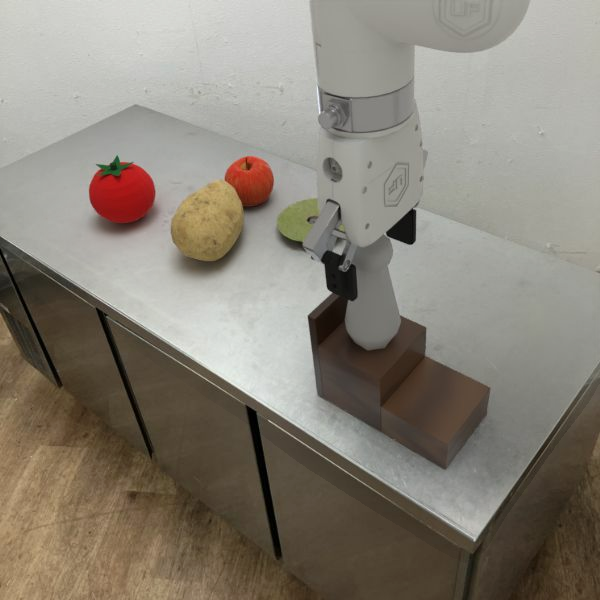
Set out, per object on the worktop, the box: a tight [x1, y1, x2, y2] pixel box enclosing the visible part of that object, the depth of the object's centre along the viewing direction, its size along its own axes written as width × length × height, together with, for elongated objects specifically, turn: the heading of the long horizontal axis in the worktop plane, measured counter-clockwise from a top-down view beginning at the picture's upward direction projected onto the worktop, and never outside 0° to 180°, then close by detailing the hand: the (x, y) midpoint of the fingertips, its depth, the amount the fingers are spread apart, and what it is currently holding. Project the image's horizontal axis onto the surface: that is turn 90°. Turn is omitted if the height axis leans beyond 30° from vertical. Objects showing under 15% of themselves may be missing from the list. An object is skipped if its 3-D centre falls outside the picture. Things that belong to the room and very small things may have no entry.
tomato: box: [88, 154, 156, 224], centre depth 104 cm, size 10×10×10 cm
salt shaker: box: [345, 233, 401, 350], centre depth 65 cm, size 6×6×13 cm
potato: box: [170, 179, 245, 262], centre depth 95 cm, size 10×14×10 cm
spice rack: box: [307, 292, 492, 470], centre depth 69 cm, size 17×9×13 cm, turn 50°
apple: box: [224, 155, 275, 207], centre depth 104 cm, size 8×8×8 cm
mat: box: [276, 197, 345, 243], centre depth 99 cm, size 11×11×2 cm
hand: (372, 265), depth 62 cm, fingers open, 9 cm apart
